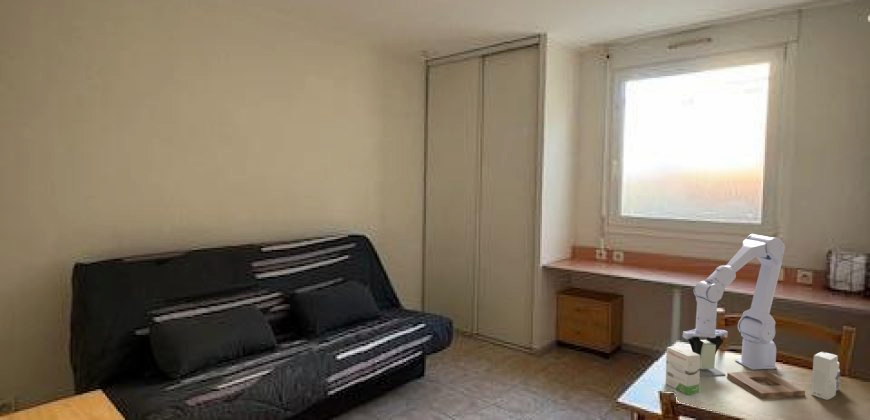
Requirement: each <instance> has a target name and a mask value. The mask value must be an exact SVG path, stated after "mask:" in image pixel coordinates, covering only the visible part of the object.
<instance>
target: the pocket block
mask: <svg viewBox="0 0 870 420" xmlns="http://www.w3.org/2000/svg"><path fill="white" fill-rule="evenodd" d="M726 378H727V379H729V380H730V381H731V382H734V383H735V384H737V385H738V386H741V387H742V388H743V389H745V390H747V391H748V392H750V393H751V394H753V395H755V396H757V397H758V398H760V399H776V398H777V399H778V398H792V397H793V398H795V397H805V396H806V390H805V389H803V388H801V387H799V386H797V385H795V384H793V383H791V382H789V381H788V380H787V379H784V378H782V377H781V376H778V375H776V374H774V373H773V372H771V371H769V370H755V371H754V370H752V371H750V370H749V371H737V372H735V371H733V372H732V371H731V372H727V376H726ZM761 382H762V383H763V382H766V383H768V385H767V386H766V385H762V384H760V383H761ZM769 384H770V385H769Z"/></svg>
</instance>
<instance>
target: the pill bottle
mask: <svg viewBox="0 0 870 420" xmlns="http://www.w3.org/2000/svg"><path fill="white" fill-rule="evenodd" d="M840 377H841V370H840V362H839V361H838V365H837V381H836V391H839V390H840V389H839V386H840Z"/></svg>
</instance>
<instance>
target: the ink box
mask: <svg viewBox="0 0 870 420" xmlns="http://www.w3.org/2000/svg"><path fill="white" fill-rule="evenodd" d="M665 361H666V362H665V366H666V367H665V384H666V385H668V386H670V387H672V388H674V389H675V390H677V391H680V392H681V393H683V394H685V395H687V396H690V395H693V394H698V393H699V392H700V377H699V373H700V355H699V354H696V353H694V352H692V350H689V349H687V348H685V347H682V346H680V345H676V346H674V345H671V346H667V347H666V359H665Z"/></svg>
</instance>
